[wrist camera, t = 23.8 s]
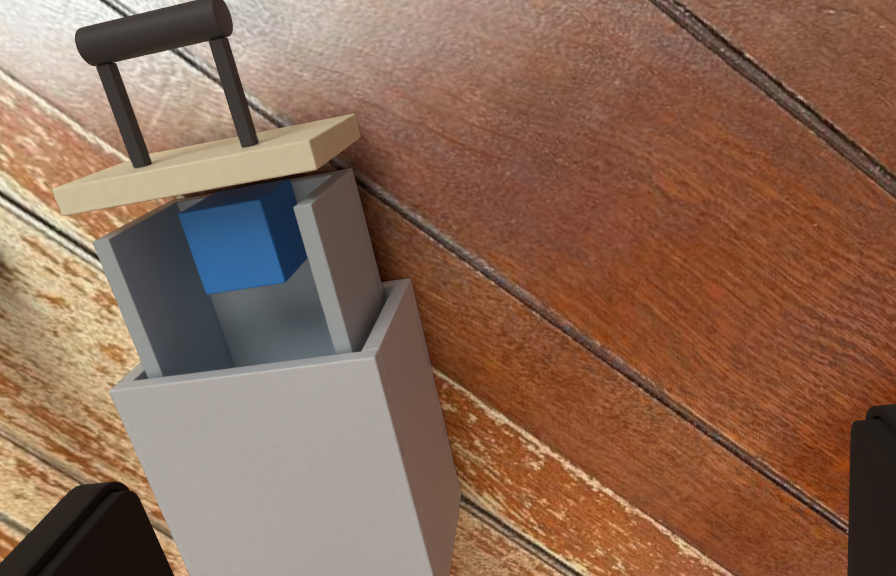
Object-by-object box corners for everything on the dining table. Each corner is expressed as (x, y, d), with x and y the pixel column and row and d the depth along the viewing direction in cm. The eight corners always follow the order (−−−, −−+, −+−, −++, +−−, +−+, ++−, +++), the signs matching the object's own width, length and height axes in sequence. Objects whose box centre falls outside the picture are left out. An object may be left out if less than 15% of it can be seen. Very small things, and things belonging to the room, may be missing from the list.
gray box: (199, 308, 38) (107, 391, 30) (410, 277, 36) (374, 357, 28) (273, 510, 44) (212, 628, 35) (461, 494, 41) (444, 616, 33)
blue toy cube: (215, 191, 33) (176, 213, 30) (290, 178, 33) (259, 199, 29) (240, 265, 35) (206, 295, 31) (312, 254, 34) (285, 283, 30)
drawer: (102, 37, 32) (-11, 43, 25) (323, -15, 30) (265, -24, 23) (226, 381, 39) (163, 458, 32) (414, 358, 37) (389, 435, 30)
